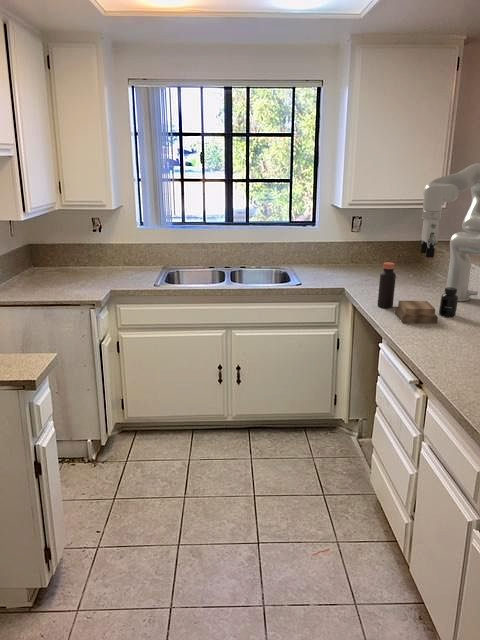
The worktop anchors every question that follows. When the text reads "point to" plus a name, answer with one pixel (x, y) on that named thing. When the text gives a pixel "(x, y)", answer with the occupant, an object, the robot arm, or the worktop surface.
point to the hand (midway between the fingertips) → (426, 255)
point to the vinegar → (387, 286)
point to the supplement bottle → (448, 302)
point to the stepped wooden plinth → (416, 312)
